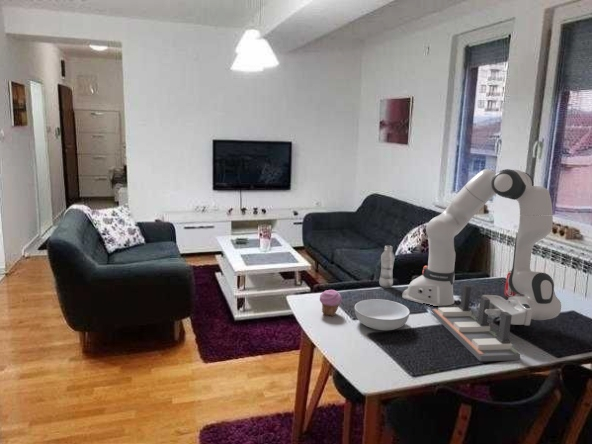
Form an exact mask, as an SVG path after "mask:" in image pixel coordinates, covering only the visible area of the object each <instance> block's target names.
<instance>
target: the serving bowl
mask: <svg viewBox="0 0 592 444" xmlns="http://www.w3.org/2000/svg"><path fill="white" fill-rule="evenodd" d="M410 312H411V311H410V309H409V308H408V307H407V306H406V305H404V304H402V303H399V302H396V301H394V300H393V301H392V300H388V299H381V298H380V299H379V298H378V299H376V298H375V299H374V298H373V299H371V298H370V299H363V300H360V301H358V302H357V303H355V305H354V313H355V317H356V318H357V320H358V321H359V322H360V323H361V324H362V325H364V326H366V327H368V328H370V329H372V330H378V331H392V330H396V329H400V328H401V327H403V326H404V325H405V324H406V323H407V322H408V320H409V318H410Z"/></svg>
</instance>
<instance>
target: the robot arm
mask: <svg viewBox="0 0 592 444" xmlns="http://www.w3.org/2000/svg"><path fill="white" fill-rule="evenodd" d="M533 179H534V178H532V176H531V175H530V174H529V173H527V172H525V171H521V170H519V169H509V168H507V169H501V170H500V171H498V172H496V171H494V170H492V169H489V168H484V169H482V170H480V171H479V172H477V174H475V175H474V176H473V177H472V178H471V179H469V180H468V182H466V184H465V185H463V187H462V188H461V189H460V190H459V191H458V192H457V193H456V195H455V196H454V197H452V199H451V201H450V203H449V204H448V205H447V206H446V208H445V209H444V210H443V212H441V213H440V214H438V215H437V216H435V217H433V218H432V219H430V221H429V222H428V223H427V225H426V227H425V233H426V236H427V239H428V241H427V242H428V261H427V265H424V266H423V268H422V274H421V275H420V276H418V277H416V278H414V279H412V280H411V281H410V283H409V284H408V286H407V287H408V288H406V289H404V290H403V292H402V294H401V296H402V299H404V300H407V301H412V302H415V303H419V304H422V305H424V304H423V303H427V304H430V305H433V306H438V307H442V306H443V307H445V306H450V305H453V304H455V298H454V285H453V284H455V275H456V274H455V262H456V251H455V237H456V236H457V235H459V233H460V232H462V231H463V229H464V228H466V226H467V225H468V224H469V222H470V221H471V220H472V218H473V217H474V216H475V215H476V214H477V213H478V212H479V211H480V210H481V209H482V208H483V207H484V206H485V205H486V204H487V203H488V202H489V200H491V198H492V197H494V196H495V195H498V196H499V197H501V198H506V199H510V200H514V201H517V203H518V207H519V226H518V230H517V232H516V236H515V241H514V247H513V249H514V250H513V259H512V268H511V270H512V271H511V270H510V271H511V273H510V276H509V286H510V289H511V290H512V291H513V292H514V293H515V294H518V295H521V296H512V297H509V298H508V297H507V298H508V299H505V298H504V297H502V296H500V295H496V294H495V295H494V294H483V295H481V297H487V298H488V299H489V300H490V304H489V308H485V309H484V312H485V313H486V314H488V315H492V316H496V317H498V318H501V312H508V313H509V314H511V315H512V317H511V325H513V326H514V325H515V326H516V325H517V326H518V325H524V326H530V325H531V321H532V320H534V321H544V320H551V319H555V318H557V317H558V316H559V315H560V313H561V311H562V303H561V302H562V301H561V300H560V299H559V298H558V296H557V295H556V294H557V293H556V291H555V283H554V280H553V278H552V276H551V275H549V274H548V273H546V272H541V271H533V270H531V259H532V251H533V248H534V246H535V244H537V243H538V242H539V241H542V240H543V239H545V238H546V237H547V236H549V234H551V232H552V228H553V223H554V221H553V219H554V218H553V215H554V214H553V212H554V211H553V204H552V199H551V194H550V191H549V190H548V188H546V187H543V186H540V185H535V183H534V180H533ZM430 305H429V306H430ZM433 306H432V307H433ZM479 307H480V303H478V305H477V308H478V309H479Z"/></svg>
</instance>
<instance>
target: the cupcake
mask: <svg viewBox="0 0 592 444" xmlns="http://www.w3.org/2000/svg"><path fill="white" fill-rule="evenodd" d="M319 301H320V303H321V307H322V308H321V313H323V315H325V316H330V317H333V316H335V314H336V312H337V311H338V310H339V305H340V304H341V303H342V302H343V297H342V296H341V293H339V292H338V291H337V290H335V289H328V290H327V289H326V290H324V291H323V292H322V293H320V295H319Z"/></svg>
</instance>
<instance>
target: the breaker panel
mask: <svg viewBox="0 0 592 444" xmlns="http://www.w3.org/2000/svg"><path fill="white" fill-rule="evenodd" d="M431 311H432V312H433V313H434V314H433V315H432V316H434V318H436V320H437V321H438V322H439V323H441V324H442V325H443V326H444V328H446V329H447V331H449V332H450V334H451V335H453V336H454V337H455V338H456V339H457V340H458V341H459V342H460V343H461V344H462V345H463V346H464V347H465V348H466V349H467V350H468V351H469V352H470V353H471V354H472V355H473V356H474V357H475V358H476V359H477V360H478V361H479V362H497V361H498V362H499V361H500V362H501V361H505V362H506V361H521V360H520V359H521V354H520V353H519V352H518V351H517V350H516V349H515V348H514V347H512V345H513V344H512V342H511V343H501V342H500V341H499V340H497V339H496V338H495V337H496V336H498V334H496V332H494V331H492V330H491V326H490V324H489V325H485V326H481V325H480V324H478V323H477V322H476V319H478V317H475V315H473V314H472V310H471V311H463V310H462V309H460V308H459V307H458V306H457V307H455V306H453V307H451V306H450V307H437V308H431Z"/></svg>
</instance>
